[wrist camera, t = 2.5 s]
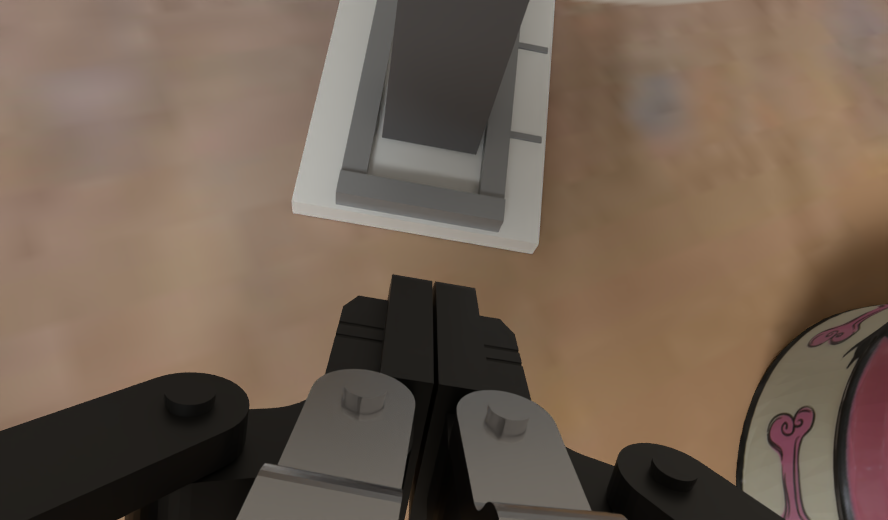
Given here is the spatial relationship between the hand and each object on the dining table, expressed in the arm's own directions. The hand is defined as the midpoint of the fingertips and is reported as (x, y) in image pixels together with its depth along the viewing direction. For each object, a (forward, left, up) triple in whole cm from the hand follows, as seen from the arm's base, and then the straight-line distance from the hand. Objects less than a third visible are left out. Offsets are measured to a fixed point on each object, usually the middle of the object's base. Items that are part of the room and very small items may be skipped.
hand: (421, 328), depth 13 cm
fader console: (-18, +9, -14) cm, 24 cm away
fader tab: (-12, +6, -13) cm, 19 cm away
